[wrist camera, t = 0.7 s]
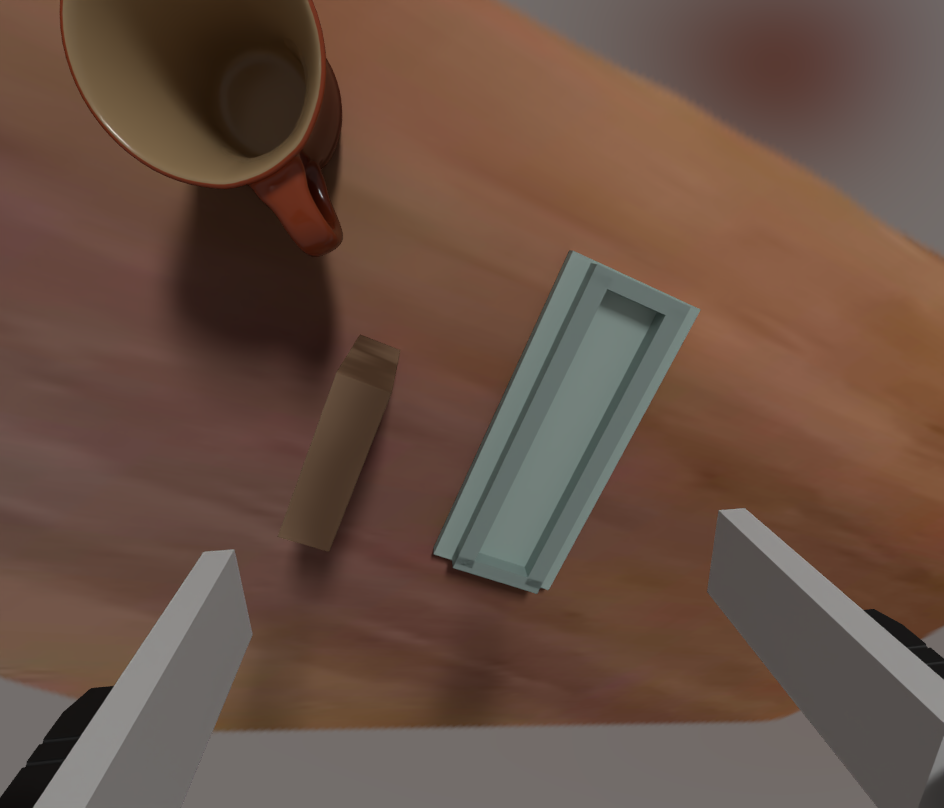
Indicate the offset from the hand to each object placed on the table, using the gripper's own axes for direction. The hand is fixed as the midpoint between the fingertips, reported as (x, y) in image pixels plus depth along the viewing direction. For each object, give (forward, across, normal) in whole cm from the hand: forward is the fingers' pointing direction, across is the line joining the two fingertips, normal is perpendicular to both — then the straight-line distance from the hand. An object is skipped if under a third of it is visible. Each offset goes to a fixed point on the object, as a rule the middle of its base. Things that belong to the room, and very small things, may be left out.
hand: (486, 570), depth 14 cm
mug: (+20, -8, +13) cm, 26 cm away
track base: (+20, +7, -4) cm, 21 cm away
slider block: (+20, -6, -2) cm, 21 cm away
